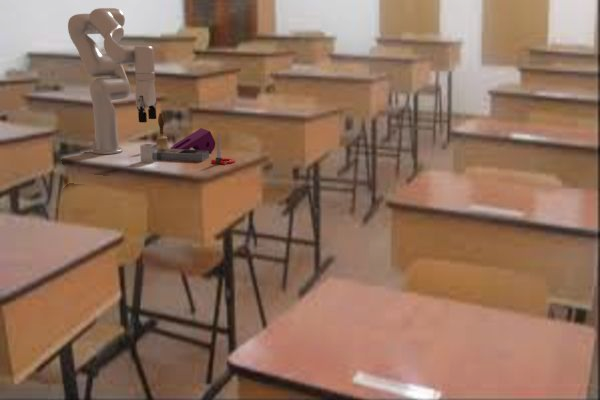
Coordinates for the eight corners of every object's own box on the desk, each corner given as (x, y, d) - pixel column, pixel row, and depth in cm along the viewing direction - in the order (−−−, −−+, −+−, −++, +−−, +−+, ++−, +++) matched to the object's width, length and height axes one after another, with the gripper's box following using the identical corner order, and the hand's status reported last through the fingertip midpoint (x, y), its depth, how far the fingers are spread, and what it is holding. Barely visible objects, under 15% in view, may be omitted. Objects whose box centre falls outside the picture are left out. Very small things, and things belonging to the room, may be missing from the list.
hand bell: (149, 150, 329) (148, 114, 325) (158, 147, 337) (157, 111, 333) (166, 151, 327) (165, 115, 323) (175, 148, 334) (173, 112, 330)
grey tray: (151, 159, 310) (150, 152, 309) (159, 155, 318) (159, 148, 317) (202, 161, 305) (201, 154, 305) (209, 157, 314) (208, 150, 313)
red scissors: (222, 160, 311) (209, 163, 303) (222, 129, 308) (209, 131, 300) (239, 162, 307) (226, 165, 299) (239, 131, 304) (226, 133, 296)
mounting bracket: (183, 169, 320) (218, 147, 326) (175, 152, 316) (210, 131, 322) (175, 165, 328) (209, 144, 334) (167, 148, 324) (201, 128, 330)
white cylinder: (141, 162, 303) (140, 145, 302) (145, 160, 308) (145, 143, 306) (152, 163, 302) (151, 146, 301) (157, 160, 307) (156, 143, 305)
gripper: (145, 75, 306) (147, 117, 310) (127, 79, 289) (130, 123, 293) (162, 75, 304) (164, 117, 308) (145, 79, 288) (148, 123, 292)
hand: (147, 120), depth 301 cm, fingers open, 9 cm apart
